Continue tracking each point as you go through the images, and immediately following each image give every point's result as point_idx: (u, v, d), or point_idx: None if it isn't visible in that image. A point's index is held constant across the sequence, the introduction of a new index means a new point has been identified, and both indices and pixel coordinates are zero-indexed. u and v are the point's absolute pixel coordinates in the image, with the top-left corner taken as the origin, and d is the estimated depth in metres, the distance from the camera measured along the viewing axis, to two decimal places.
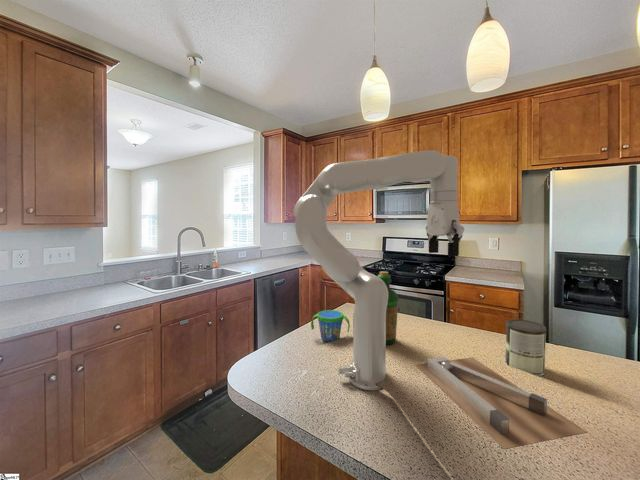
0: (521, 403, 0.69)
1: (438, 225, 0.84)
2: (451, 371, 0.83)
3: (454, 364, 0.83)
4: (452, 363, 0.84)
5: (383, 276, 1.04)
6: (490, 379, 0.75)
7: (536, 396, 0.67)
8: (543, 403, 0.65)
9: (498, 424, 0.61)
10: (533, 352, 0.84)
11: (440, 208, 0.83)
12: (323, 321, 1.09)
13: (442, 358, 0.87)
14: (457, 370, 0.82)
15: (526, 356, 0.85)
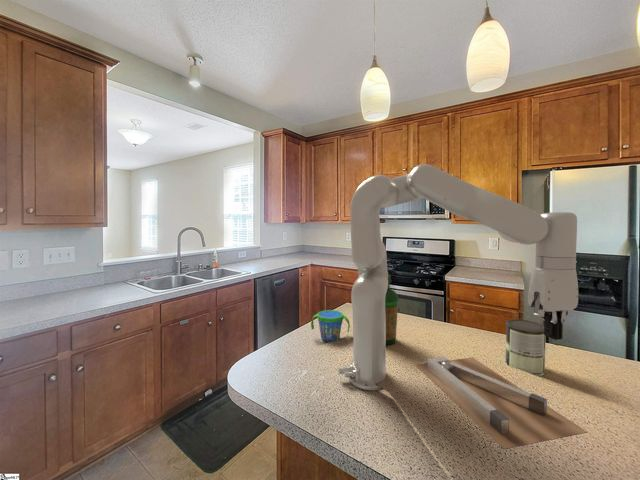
0: (521, 403, 0.69)
1: None
2: (451, 371, 0.83)
3: (454, 364, 0.83)
4: (452, 363, 0.84)
5: None
6: (490, 379, 0.75)
7: (536, 396, 0.67)
8: (543, 403, 0.65)
9: (498, 424, 0.61)
10: (533, 352, 0.84)
11: None
12: (323, 321, 1.09)
13: (442, 358, 0.87)
14: (457, 370, 0.82)
15: (526, 356, 0.85)
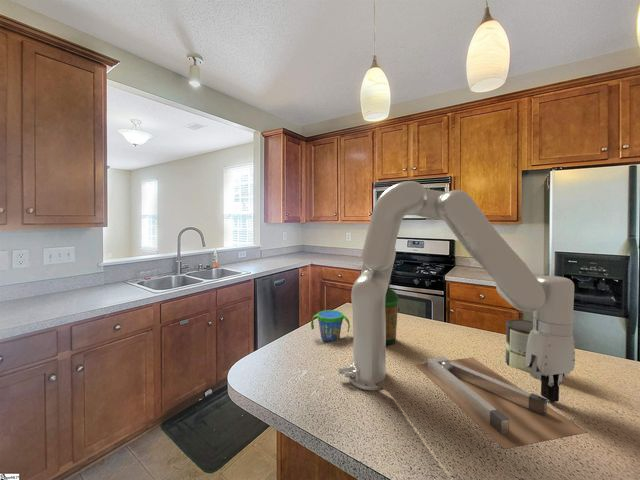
0: (521, 403, 0.69)
1: None
2: (451, 371, 0.83)
3: (454, 364, 0.83)
4: (452, 363, 0.84)
5: None
6: (490, 379, 0.75)
7: (536, 396, 0.67)
8: (543, 403, 0.65)
9: (498, 424, 0.61)
10: None
11: None
12: (323, 321, 1.09)
13: (442, 358, 0.87)
14: (457, 370, 0.82)
15: None
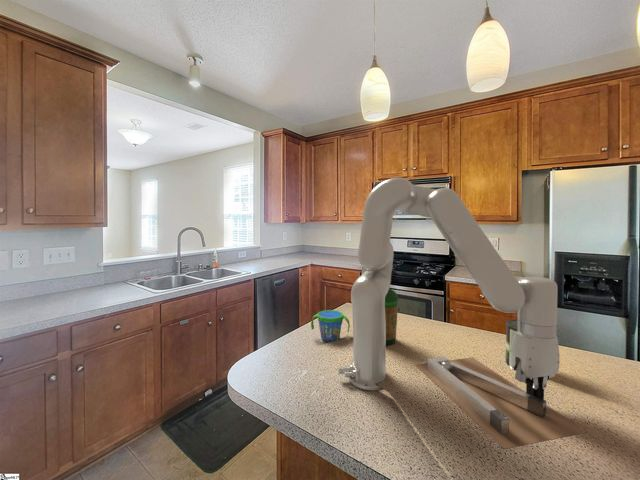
0: (520, 404, 0.68)
1: None
2: (451, 371, 0.83)
3: (454, 364, 0.83)
4: (452, 363, 0.83)
5: None
6: (489, 380, 0.75)
7: (535, 397, 0.67)
8: (542, 404, 0.65)
9: (498, 424, 0.61)
10: None
11: None
12: (323, 321, 1.09)
13: (442, 358, 0.87)
14: (457, 370, 0.81)
15: None
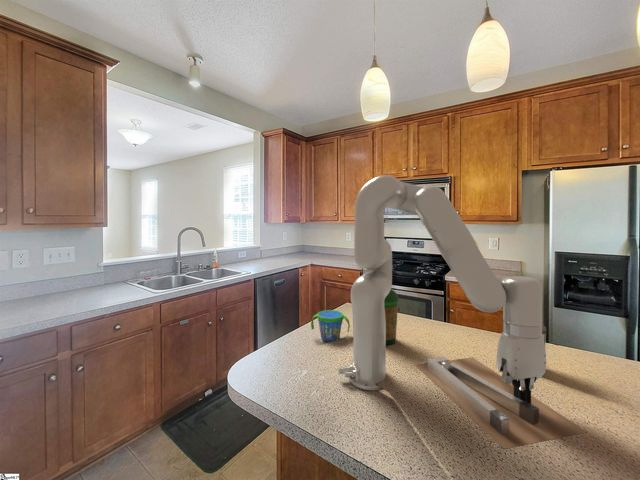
0: (512, 409, 0.66)
1: None
2: (451, 372, 0.83)
3: (454, 365, 0.82)
4: (453, 364, 0.83)
5: None
6: (485, 383, 0.73)
7: (528, 404, 0.64)
8: (532, 411, 0.62)
9: (498, 424, 0.61)
10: None
11: None
12: (323, 321, 1.09)
13: (442, 358, 0.87)
14: (456, 371, 0.81)
15: None
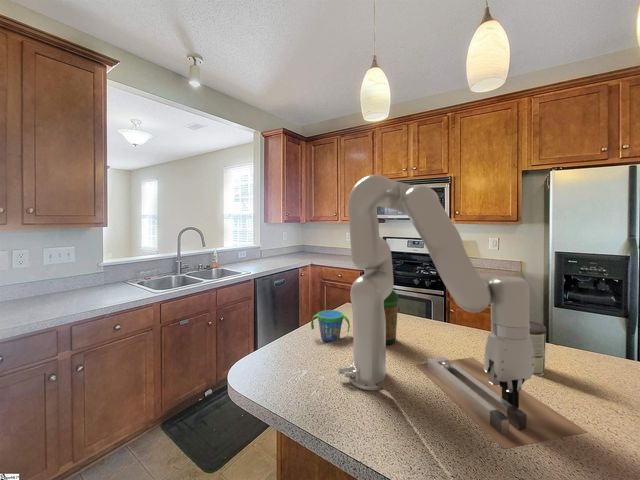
0: None
1: None
2: (450, 372, 0.82)
3: (454, 366, 0.82)
4: (453, 364, 0.83)
5: None
6: (480, 385, 0.72)
7: (516, 409, 0.63)
8: (518, 416, 0.61)
9: (498, 424, 0.61)
10: (533, 352, 0.84)
11: None
12: (323, 321, 1.09)
13: (442, 358, 0.87)
14: (454, 371, 0.81)
15: None
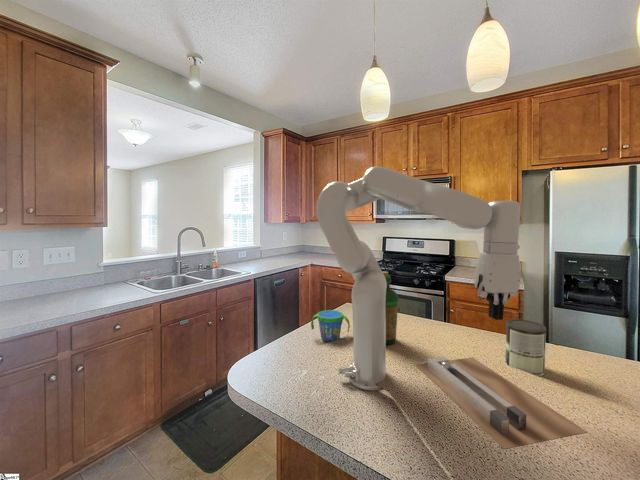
0: None
1: None
2: (450, 372, 0.82)
3: (454, 366, 0.82)
4: (453, 364, 0.83)
5: None
6: (480, 385, 0.72)
7: (516, 409, 0.63)
8: (518, 416, 0.61)
9: (498, 424, 0.61)
10: (533, 352, 0.84)
11: None
12: (323, 321, 1.09)
13: (442, 358, 0.87)
14: (454, 371, 0.81)
15: (526, 356, 0.85)
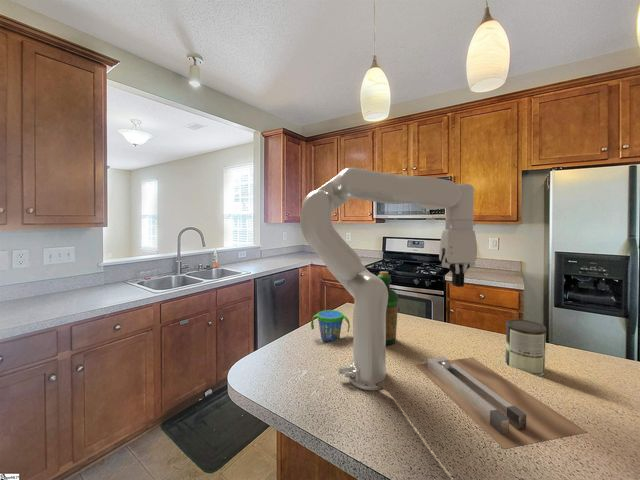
0: None
1: None
2: (450, 372, 0.82)
3: (454, 366, 0.82)
4: (453, 364, 0.83)
5: (383, 276, 1.04)
6: (480, 385, 0.72)
7: (516, 409, 0.63)
8: (518, 416, 0.61)
9: (498, 424, 0.61)
10: (533, 352, 0.84)
11: None
12: (323, 321, 1.09)
13: (442, 358, 0.87)
14: (454, 371, 0.81)
15: (526, 356, 0.85)
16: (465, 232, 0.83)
